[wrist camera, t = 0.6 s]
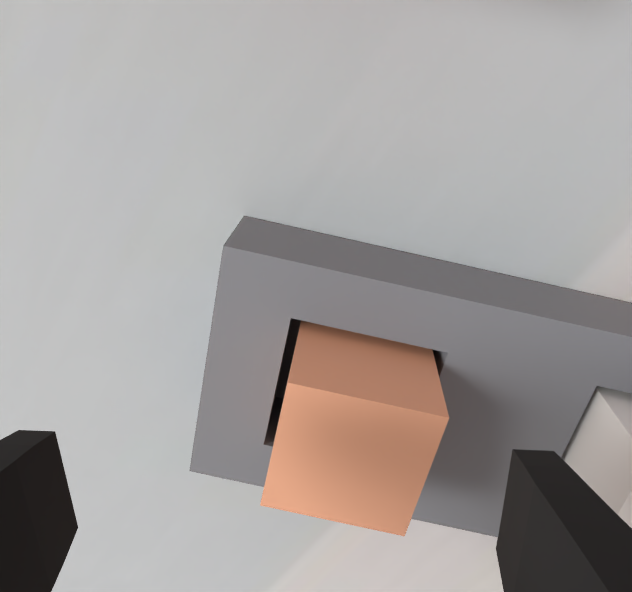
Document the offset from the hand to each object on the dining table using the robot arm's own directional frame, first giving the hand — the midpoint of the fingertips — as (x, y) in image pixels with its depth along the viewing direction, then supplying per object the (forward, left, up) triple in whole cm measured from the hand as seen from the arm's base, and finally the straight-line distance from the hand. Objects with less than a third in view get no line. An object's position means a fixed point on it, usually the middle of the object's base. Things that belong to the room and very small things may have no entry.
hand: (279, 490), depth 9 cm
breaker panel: (-6, +3, -10) cm, 12 cm away
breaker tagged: (-2, +3, -8) cm, 9 cm away
